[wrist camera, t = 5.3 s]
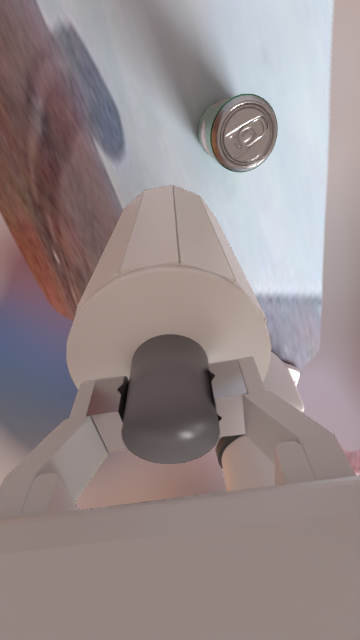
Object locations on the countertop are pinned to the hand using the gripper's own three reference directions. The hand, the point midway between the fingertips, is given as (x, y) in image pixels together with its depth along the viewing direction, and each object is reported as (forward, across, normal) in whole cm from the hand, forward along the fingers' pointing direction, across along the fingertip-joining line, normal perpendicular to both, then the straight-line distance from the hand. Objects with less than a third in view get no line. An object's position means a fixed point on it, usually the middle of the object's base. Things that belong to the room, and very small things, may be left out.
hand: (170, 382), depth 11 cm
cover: (+15, 0, 0) cm, 15 cm away
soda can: (+30, -7, -6) cm, 31 cm away
